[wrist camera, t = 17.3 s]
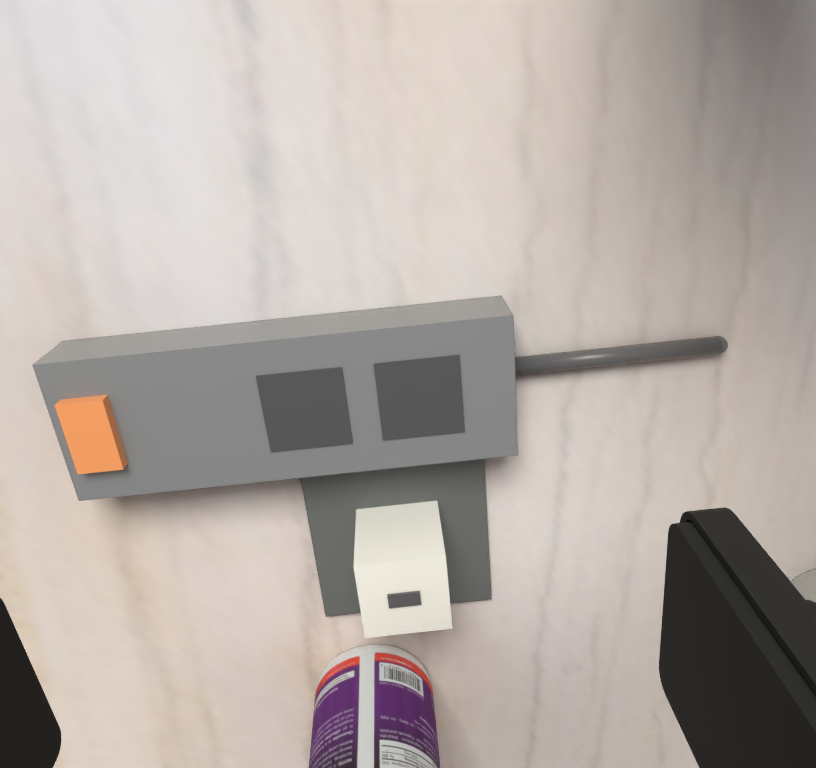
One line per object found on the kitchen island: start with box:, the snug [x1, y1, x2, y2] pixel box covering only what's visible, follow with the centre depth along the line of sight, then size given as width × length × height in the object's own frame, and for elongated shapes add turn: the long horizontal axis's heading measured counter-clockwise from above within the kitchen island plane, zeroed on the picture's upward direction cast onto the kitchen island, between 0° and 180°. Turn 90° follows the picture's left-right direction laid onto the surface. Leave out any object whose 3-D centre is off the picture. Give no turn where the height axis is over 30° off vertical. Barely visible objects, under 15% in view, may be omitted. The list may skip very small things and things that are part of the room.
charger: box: [354, 501, 453, 638], centre depth 40 cm, size 5×5×6 cm
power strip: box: [33, 296, 728, 501], centre depth 36 cm, size 36×8×4 cm, turn 95°
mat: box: [301, 459, 492, 616], centre depth 42 cm, size 11×11×1 cm
